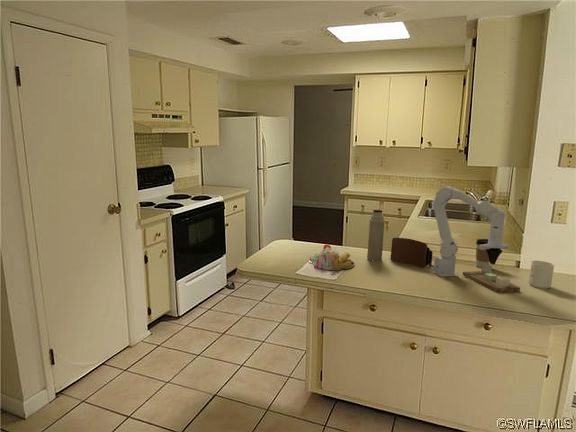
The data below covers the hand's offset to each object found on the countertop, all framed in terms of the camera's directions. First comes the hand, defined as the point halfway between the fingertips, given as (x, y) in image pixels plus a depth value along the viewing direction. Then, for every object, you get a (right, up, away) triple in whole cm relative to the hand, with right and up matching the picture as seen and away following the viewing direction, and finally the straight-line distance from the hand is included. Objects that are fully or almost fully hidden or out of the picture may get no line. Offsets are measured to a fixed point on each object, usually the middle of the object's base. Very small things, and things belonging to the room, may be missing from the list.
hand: (492, 263), depth 187 cm
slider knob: (+2, -5, +9) cm, 11 cm away
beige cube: (+1, -9, -7) cm, 11 cm away
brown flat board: (-1, -9, +1) cm, 9 cm away
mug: (+22, -10, +1) cm, 24 cm away
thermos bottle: (-48, -2, +36) cm, 60 cm away
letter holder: (-28, -4, +32) cm, 43 cm away
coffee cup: (+9, -5, +29) cm, 30 cm away
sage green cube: (0, -9, +1) cm, 9 cm away
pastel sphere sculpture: (-74, -4, +24) cm, 77 cm away
